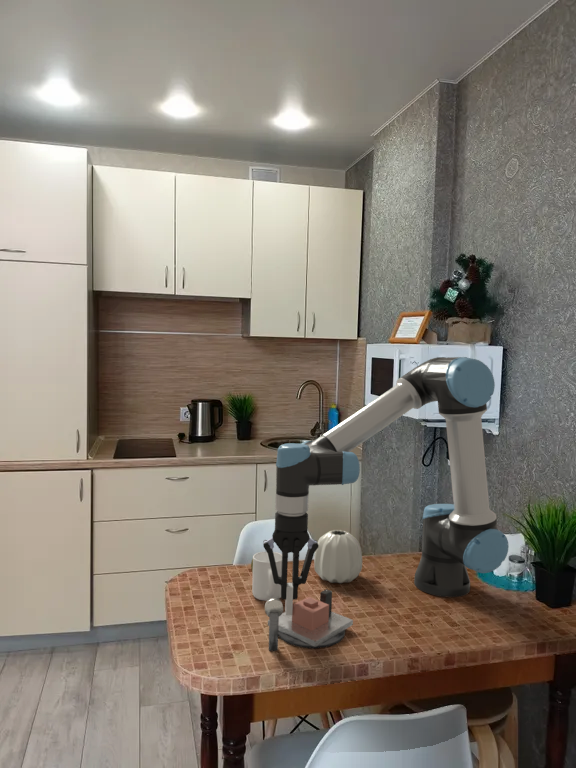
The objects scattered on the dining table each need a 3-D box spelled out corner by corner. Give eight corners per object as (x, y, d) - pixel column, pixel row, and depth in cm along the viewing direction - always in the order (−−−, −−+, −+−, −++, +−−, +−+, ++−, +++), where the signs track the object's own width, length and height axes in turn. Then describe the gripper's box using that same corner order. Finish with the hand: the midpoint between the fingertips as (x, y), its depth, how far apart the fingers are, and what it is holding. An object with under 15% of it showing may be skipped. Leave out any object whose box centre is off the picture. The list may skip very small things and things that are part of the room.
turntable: (306, 606, 141) (306, 581, 141) (352, 624, 132) (353, 598, 132) (267, 625, 131) (268, 599, 131) (315, 647, 122) (316, 618, 121)
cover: (308, 613, 135) (309, 593, 135) (328, 621, 131) (329, 601, 131) (291, 621, 131) (292, 601, 130) (312, 630, 127) (312, 609, 126)
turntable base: (338, 614, 140) (338, 610, 140) (350, 648, 124) (350, 643, 124) (274, 615, 139) (274, 611, 139) (277, 648, 123) (277, 644, 123)
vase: (304, 579, 162) (305, 533, 161) (329, 565, 173) (330, 522, 172) (347, 592, 154) (348, 543, 153) (370, 576, 165) (371, 531, 165)
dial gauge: (281, 645, 125) (283, 597, 124) (282, 651, 122) (284, 603, 122) (263, 645, 125) (264, 597, 124) (264, 651, 122) (265, 603, 121)
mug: (287, 607, 144) (288, 567, 143) (254, 608, 142) (255, 568, 142) (281, 588, 155) (282, 551, 155) (251, 589, 154) (252, 551, 154)
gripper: (317, 507, 134) (314, 605, 135) (262, 507, 133) (260, 605, 134) (322, 516, 127) (318, 620, 128) (263, 516, 126) (260, 620, 127)
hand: (288, 612), depth 131 cm, fingers closed
